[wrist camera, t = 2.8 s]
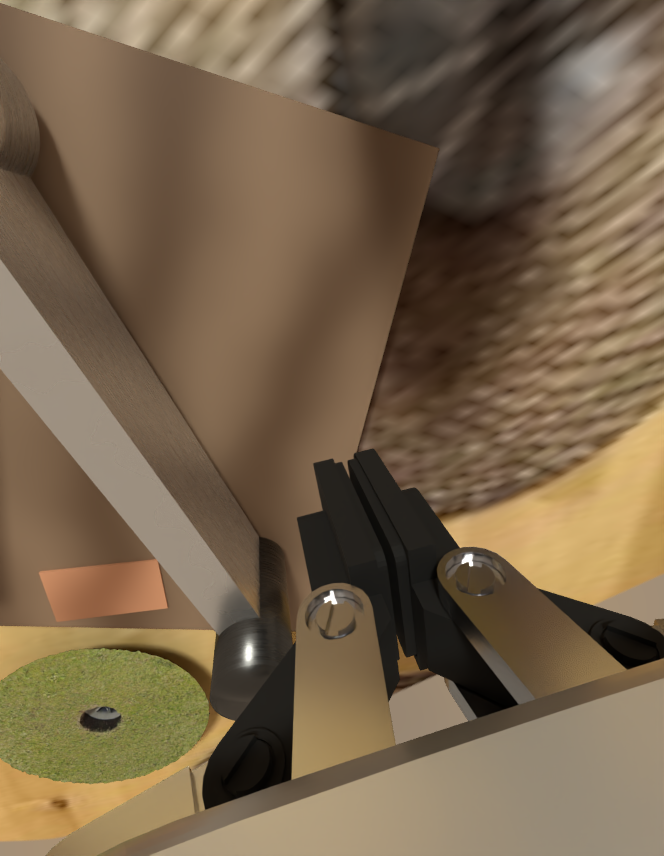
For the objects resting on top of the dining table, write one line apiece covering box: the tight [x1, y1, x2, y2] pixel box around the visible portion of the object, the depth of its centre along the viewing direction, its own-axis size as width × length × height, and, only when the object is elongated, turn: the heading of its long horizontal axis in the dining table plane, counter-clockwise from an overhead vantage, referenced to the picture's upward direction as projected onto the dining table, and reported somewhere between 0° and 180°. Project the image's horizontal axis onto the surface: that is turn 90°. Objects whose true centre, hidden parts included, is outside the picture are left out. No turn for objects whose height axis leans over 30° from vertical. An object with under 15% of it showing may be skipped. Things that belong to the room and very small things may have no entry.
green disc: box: [0, 648, 210, 784], centre depth 23 cm, size 11×11×2 cm
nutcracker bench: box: [0, 3, 439, 631], centre depth 15 cm, size 19×23×5 cm
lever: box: [0, 58, 293, 721], centre depth 12 cm, size 21×4×6 cm, turn 22°
